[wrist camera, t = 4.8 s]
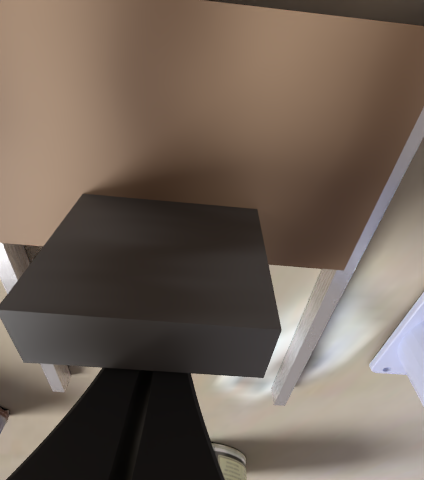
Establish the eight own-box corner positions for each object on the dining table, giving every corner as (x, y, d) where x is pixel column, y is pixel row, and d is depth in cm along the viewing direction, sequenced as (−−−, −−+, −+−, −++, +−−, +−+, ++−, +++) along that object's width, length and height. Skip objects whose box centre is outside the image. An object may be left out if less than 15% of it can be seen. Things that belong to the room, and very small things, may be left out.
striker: (417, 27, 9) (752, 52, 3) (329, 240, 14) (405, 396, 8) (-71, -30, 8) (-660, -117, 3) (16, 214, 13) (-133, 362, 8)
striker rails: (500, -77, 8) (539, -89, 7) (281, 388, 23) (284, 405, 22) (-161, -165, 7) (-219, -192, 6) (60, 374, 22) (52, 391, 21)
